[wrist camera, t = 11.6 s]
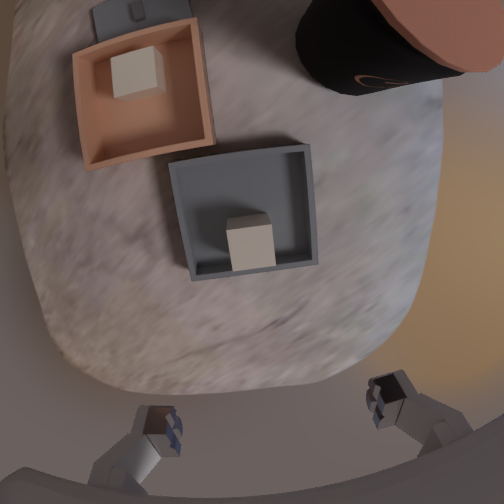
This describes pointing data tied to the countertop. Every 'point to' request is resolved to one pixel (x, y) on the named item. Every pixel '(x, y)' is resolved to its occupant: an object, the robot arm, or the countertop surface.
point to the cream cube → (138, 74)
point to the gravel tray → (245, 205)
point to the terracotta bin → (147, 109)
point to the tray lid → (136, 15)
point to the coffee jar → (398, 41)
